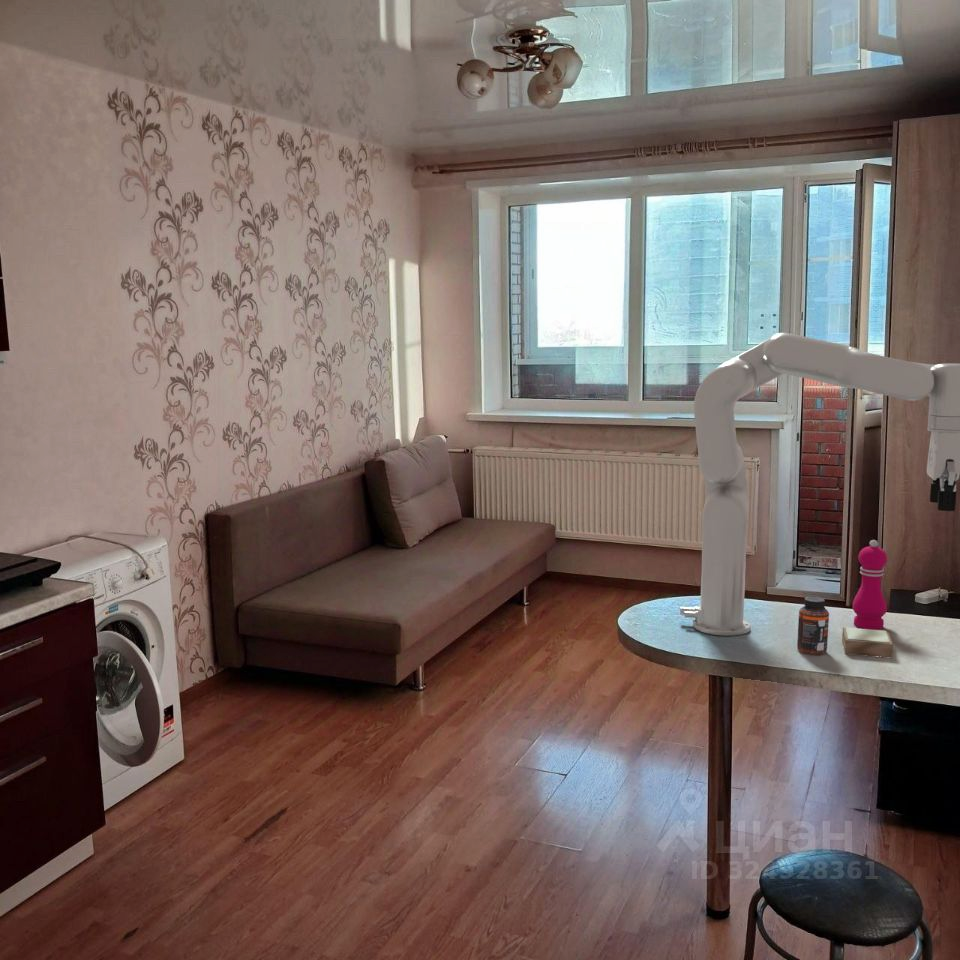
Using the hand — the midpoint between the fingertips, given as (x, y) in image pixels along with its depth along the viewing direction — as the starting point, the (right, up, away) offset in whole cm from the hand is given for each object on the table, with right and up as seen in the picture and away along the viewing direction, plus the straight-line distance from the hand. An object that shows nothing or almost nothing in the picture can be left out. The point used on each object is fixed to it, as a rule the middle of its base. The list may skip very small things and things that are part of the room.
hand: (941, 506), depth 200 cm
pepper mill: (-8, -28, +19) cm, 35 cm away
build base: (-14, -30, +3) cm, 34 cm away
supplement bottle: (-26, -31, +2) cm, 40 cm away
